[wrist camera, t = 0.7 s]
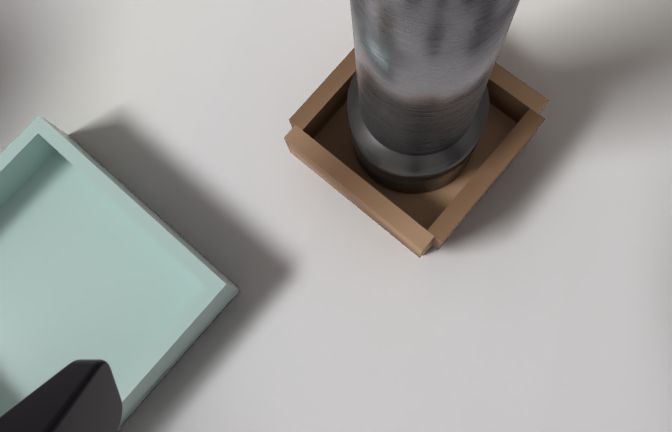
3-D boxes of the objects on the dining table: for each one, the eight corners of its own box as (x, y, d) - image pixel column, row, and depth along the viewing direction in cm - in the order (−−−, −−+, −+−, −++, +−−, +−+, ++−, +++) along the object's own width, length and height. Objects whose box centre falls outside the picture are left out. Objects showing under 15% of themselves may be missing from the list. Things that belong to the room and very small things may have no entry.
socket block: (537, 132, 22) (556, 105, 20) (424, 267, 21) (430, 256, 19) (399, 32, 24) (401, -4, 21) (288, 156, 23) (277, 132, 20)
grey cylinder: (499, 126, 21) (642, -146, 10) (421, 219, 21) (472, 49, 9) (404, 56, 22) (428, -271, 11) (326, 143, 22) (262, -100, 10)
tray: (240, 290, 22) (226, 284, 20) (55, 500, 21) (21, 515, 19) (67, 134, 24) (38, 115, 22) (-111, 318, 22) (-158, 315, 21)
